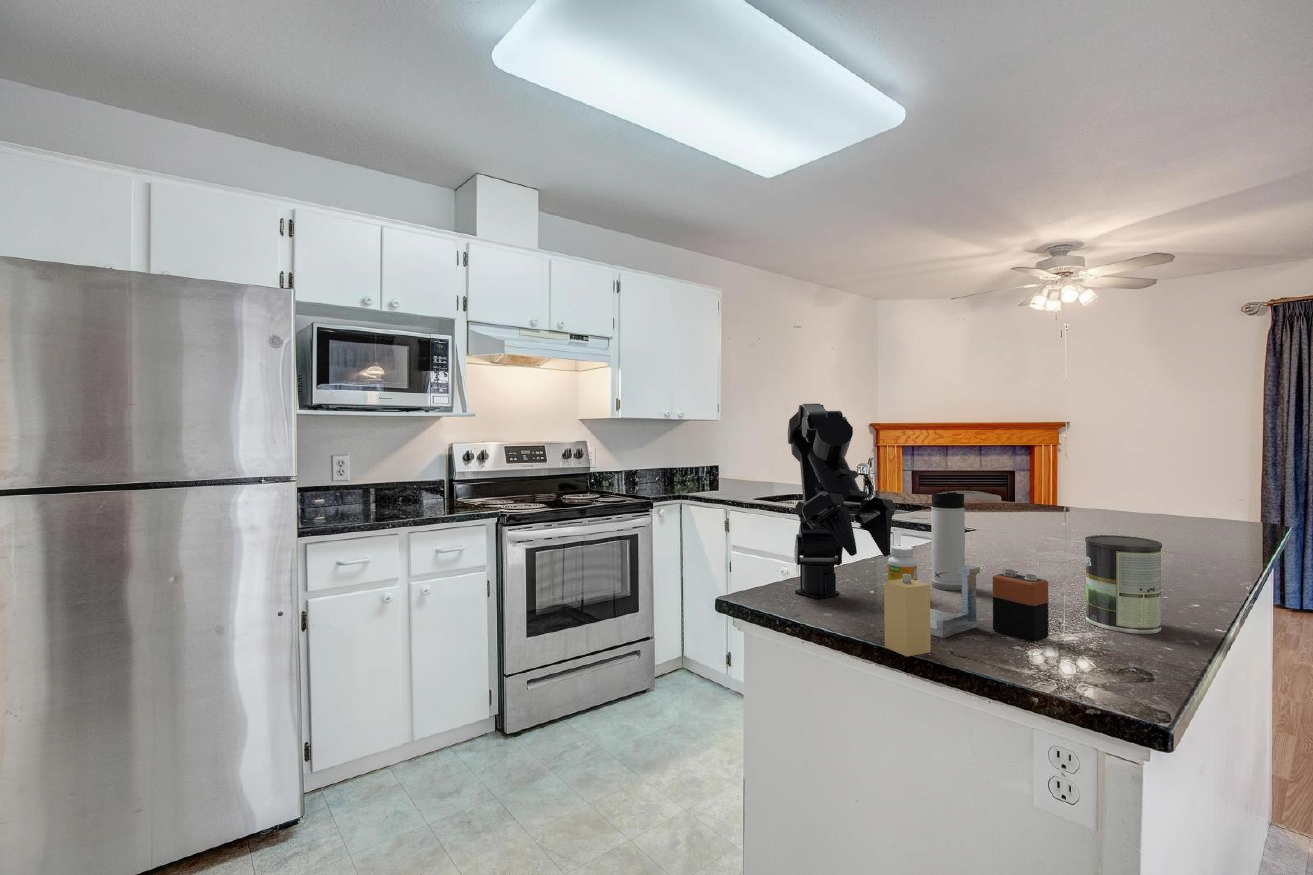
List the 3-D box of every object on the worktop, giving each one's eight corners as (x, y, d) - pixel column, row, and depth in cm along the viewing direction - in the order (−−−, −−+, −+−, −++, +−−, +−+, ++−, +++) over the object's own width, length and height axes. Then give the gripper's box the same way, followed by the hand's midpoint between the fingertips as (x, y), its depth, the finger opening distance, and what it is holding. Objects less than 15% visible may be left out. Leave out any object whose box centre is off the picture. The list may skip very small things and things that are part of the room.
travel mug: (936, 590, 128) (936, 492, 128) (928, 583, 135) (927, 489, 135) (969, 591, 127) (969, 492, 127) (959, 584, 134) (959, 489, 134)
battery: (1007, 627, 105) (1007, 566, 105) (1049, 638, 99) (1049, 574, 99) (991, 631, 103) (991, 569, 103) (1033, 643, 97) (1032, 577, 97)
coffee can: (1078, 625, 105) (1078, 540, 105) (1093, 612, 113) (1092, 533, 112) (1157, 638, 98) (1156, 548, 98) (1166, 624, 105) (1166, 539, 105)
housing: (884, 646, 96) (884, 573, 96) (908, 643, 97) (907, 570, 97) (906, 656, 92) (905, 579, 91) (930, 652, 93) (930, 576, 93)
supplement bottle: (884, 597, 124) (884, 548, 123) (891, 591, 128) (891, 544, 128) (913, 601, 121) (913, 550, 120) (919, 595, 125) (919, 546, 125)
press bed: (893, 623, 107) (892, 564, 107) (927, 614, 112) (927, 558, 112) (945, 638, 99) (945, 575, 99) (980, 627, 104) (979, 567, 104)
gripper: (833, 499, 121) (867, 575, 113) (766, 492, 110) (798, 576, 102) (878, 469, 114) (918, 548, 106) (811, 458, 103) (850, 545, 95)
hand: (871, 555), depth 103 cm, fingers open, 9 cm apart
